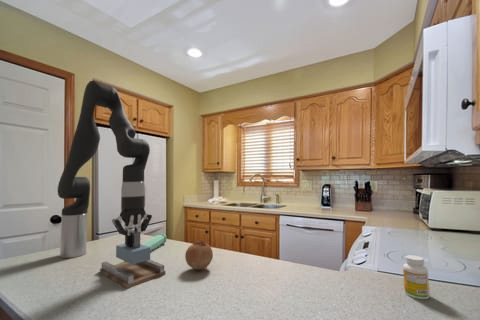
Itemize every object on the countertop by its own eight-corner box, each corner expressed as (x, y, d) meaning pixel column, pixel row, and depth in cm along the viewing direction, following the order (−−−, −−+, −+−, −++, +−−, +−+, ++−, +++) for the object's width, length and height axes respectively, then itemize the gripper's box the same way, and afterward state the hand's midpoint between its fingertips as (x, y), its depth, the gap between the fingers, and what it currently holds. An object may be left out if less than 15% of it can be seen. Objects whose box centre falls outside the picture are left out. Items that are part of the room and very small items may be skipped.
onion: (217, 266, 87) (216, 238, 88) (205, 276, 78) (204, 245, 79) (194, 263, 90) (194, 236, 91) (179, 273, 81) (179, 243, 82)
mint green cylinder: (135, 246, 94) (164, 230, 118) (122, 251, 94) (153, 235, 119) (140, 260, 93) (168, 242, 118) (127, 266, 94) (158, 246, 118)
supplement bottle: (410, 288, 68) (407, 253, 69) (433, 296, 63) (430, 258, 64) (400, 293, 65) (398, 256, 66) (424, 302, 60) (421, 262, 61)
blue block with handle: (116, 257, 84) (116, 230, 84) (132, 252, 88) (133, 227, 89) (132, 264, 76) (133, 235, 77) (150, 259, 81) (150, 232, 81)
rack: (99, 271, 84) (100, 263, 84) (136, 261, 93) (136, 253, 94) (126, 288, 71) (126, 277, 71) (165, 274, 81) (165, 264, 81)
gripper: (146, 193, 92) (145, 239, 90) (107, 195, 81) (106, 248, 80) (157, 194, 87) (156, 243, 86) (117, 196, 76) (116, 252, 75)
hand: (132, 245), depth 83 cm, fingers closed on blue block with handle
